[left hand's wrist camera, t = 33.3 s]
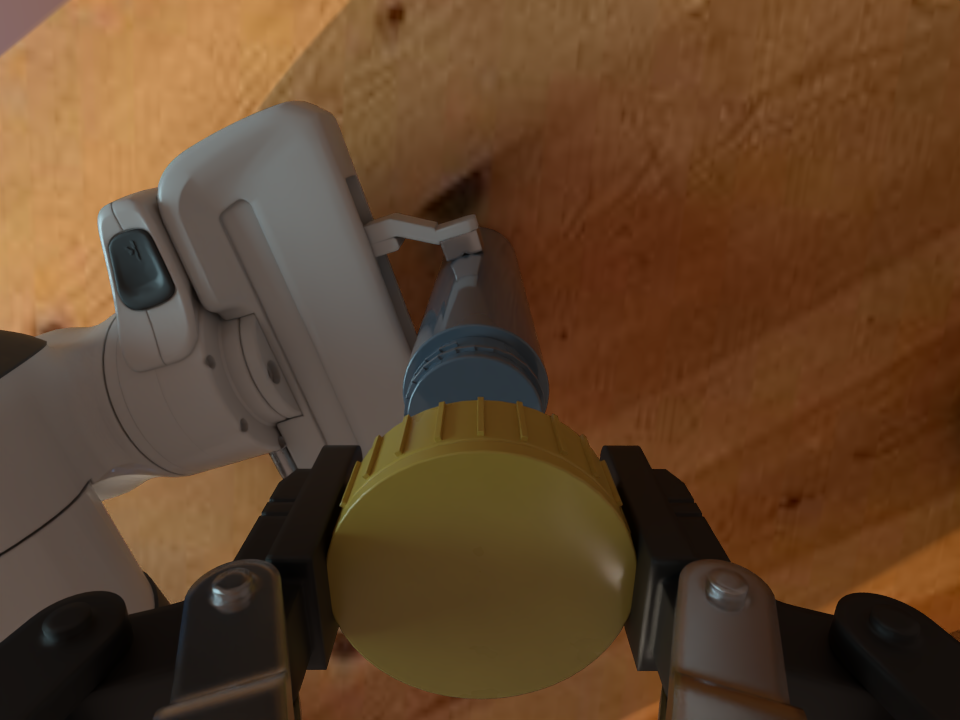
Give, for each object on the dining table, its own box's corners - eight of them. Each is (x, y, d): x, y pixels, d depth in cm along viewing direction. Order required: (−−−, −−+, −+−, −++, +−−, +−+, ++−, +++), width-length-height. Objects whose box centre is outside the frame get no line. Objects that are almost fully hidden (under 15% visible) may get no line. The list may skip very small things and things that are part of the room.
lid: (547, 650, 12) (558, 733, 11) (311, 577, 12) (283, 654, 10) (666, 453, 11) (703, 515, 9) (398, 352, 10) (380, 398, 8)
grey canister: (431, 244, 32) (366, 380, 15) (500, 215, 32) (521, 318, 14) (460, 311, 34) (434, 507, 16) (527, 284, 33) (578, 457, 15)
